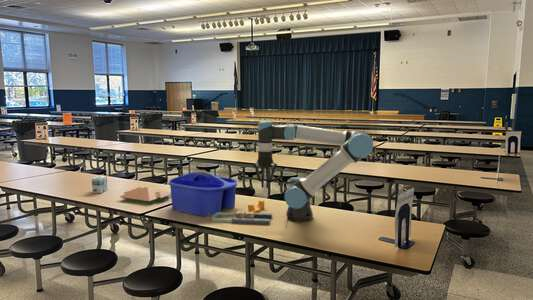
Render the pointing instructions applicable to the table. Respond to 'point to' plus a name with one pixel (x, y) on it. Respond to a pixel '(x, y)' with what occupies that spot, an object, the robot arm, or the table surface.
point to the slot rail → (254, 219)
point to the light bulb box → (99, 184)
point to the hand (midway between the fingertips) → (265, 193)
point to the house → (146, 194)
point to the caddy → (202, 193)
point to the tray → (221, 218)
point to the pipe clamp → (259, 207)
